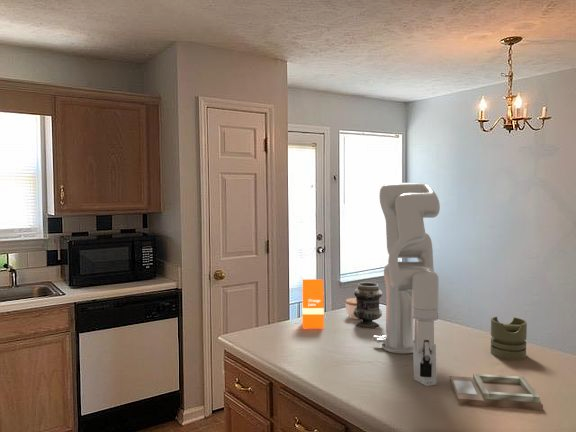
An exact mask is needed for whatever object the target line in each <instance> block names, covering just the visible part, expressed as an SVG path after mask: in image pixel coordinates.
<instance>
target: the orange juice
mask: <svg viewBox="0 0 576 432" xmlns="http://www.w3.org/2000/svg"><path fill="white" fill-rule="evenodd" d="M301 293H302V294H301V295H302V296H301V297H302V305H301V307H302V310H301V311H302V329H324V320H325V319H324V317H325V316H324V315H325V314H324V313H325V309H324V308H325V307H324V301H325V300H324V295H325V294H324V280H323V278H322V279H319V278H318V279H309V278H308V279H303V278H302V292H301Z"/></svg>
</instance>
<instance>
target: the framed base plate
mask: <svg viewBox="0 0 576 432" xmlns="http://www.w3.org/2000/svg"><path fill="white" fill-rule="evenodd" d="M449 383H450V386H451V388H452V391H453V394H454V396H455V399H456V402H457V404H458V405H466V406H468V405H469V406H479V407H491V408H493V407H494V408H495V407H496V408H508V409H519V410H520V409H522V410H534V411H543V410H544V404H543V403H542V401H541V398H540V395H539V394H538V393H537V392H536V390H535V389H534V388H533V387H532V385H531V384H530V383H529V382H528V380H527V379H526V377H524V376H519V375H518V376H517V375H516V376H515V375H514V376H513V375H502V374H501V375H500V374H485V373H482V374H481V373H472V376H470V377H468V376H456V375H455V376H454V375H449Z"/></svg>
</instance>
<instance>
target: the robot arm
mask: <svg viewBox="0 0 576 432" xmlns="http://www.w3.org/2000/svg"><path fill="white" fill-rule="evenodd" d="M379 204H380V207H381V210H382V213H383V215H384V219H385V233H386V234H385V236H386V251H387V254H388V260H387V261H388V262H387V264H386V265H385V267H384V269H383V278H384V284H385V285H384V286H385V295H386V299H385V304H386V305H385V306H386V307H385V308H386V313H385V316H386V318H385V319H386V320H385V322H386V324H385V326H386V328H385V333H384V335H383V334H382V336H381V335H373V342H376V343H378V344H379V343H381V348H382V349H383V350H384V351H386V352H388V353H392V354H401V355H402V354H413V341H414V340H415V351H416V353H417V354H419V353H421V363H420V376H421V377H432V363H431V354H433V350H434V344H435V321H438V320H439V275H438V274H437V273H436V272H435V271H434V255H433V254H434V253H433V252H434V251H433V243H432V238H431V237H430V235H429V234H428V233H427V232H426V228H425V222H424V221H425V220H424V218H425V219H426V218H428V219H429V218H430V219H431V218H437V216H438V215H439V214H440V210H441V209H440V208H441V206H440V205H441V204H440V200H439V198H438V196H437V193H436V191H434V189H433V188H432V187H431V186H430V185H429V184H428V183H424V182H391V183H387V184H383V186H381V188H380V191H379ZM399 259H417V260H418V261H399ZM409 292H411V295H410V293H409ZM423 350H425V352H422V351H423ZM423 355H425V356H424V357H423Z"/></svg>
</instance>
